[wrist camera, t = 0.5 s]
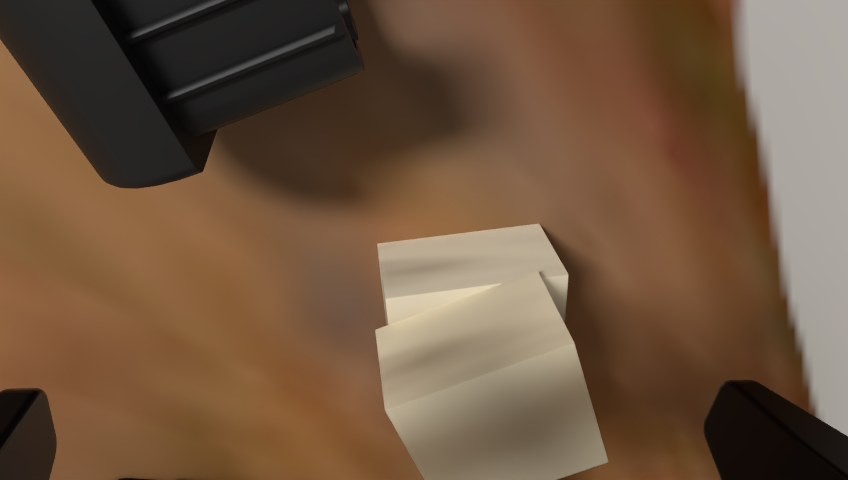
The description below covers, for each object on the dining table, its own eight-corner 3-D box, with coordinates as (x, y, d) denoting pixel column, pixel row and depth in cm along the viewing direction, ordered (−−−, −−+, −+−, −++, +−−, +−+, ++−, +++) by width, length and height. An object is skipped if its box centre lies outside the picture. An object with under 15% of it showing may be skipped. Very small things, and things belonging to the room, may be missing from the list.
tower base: (532, 342, 27) (558, 404, 24) (390, 362, 26) (400, 427, 24) (537, 220, 24) (568, 274, 21) (376, 240, 23) (385, 298, 20)
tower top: (572, 384, 24) (608, 461, 21) (430, 434, 24) (445, 517, 21) (537, 270, 21) (574, 342, 18) (375, 329, 21) (384, 410, 18)
